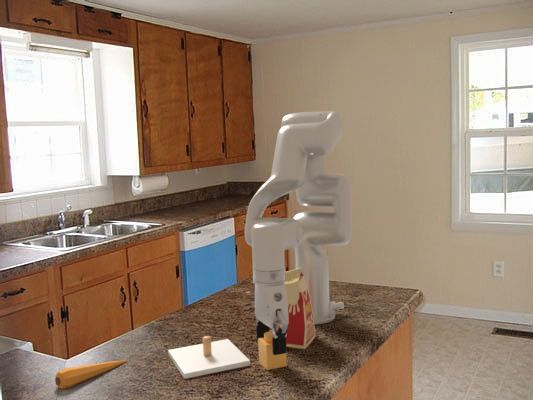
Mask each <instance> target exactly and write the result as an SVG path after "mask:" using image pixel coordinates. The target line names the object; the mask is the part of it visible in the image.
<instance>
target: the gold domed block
mask: <svg viewBox="0 0 533 400" xmlns="http://www.w3.org/2000/svg"><path fill="white" fill-rule="evenodd" d="M273 337H274V335H273V332H272V330H271V331H270V330H269V332H266V333H264V337H263V338H258V341H257V343H258V344H257V345H258V363H259V364H260V366H262V367H263V368H264V369H265V370H267V371H270V370H276V369H279V368H280V369H281V368H284V367H287V366H288V363H287V352H286V353H284V354H279V355H274V354H273V346H272V338H273Z"/></svg>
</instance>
